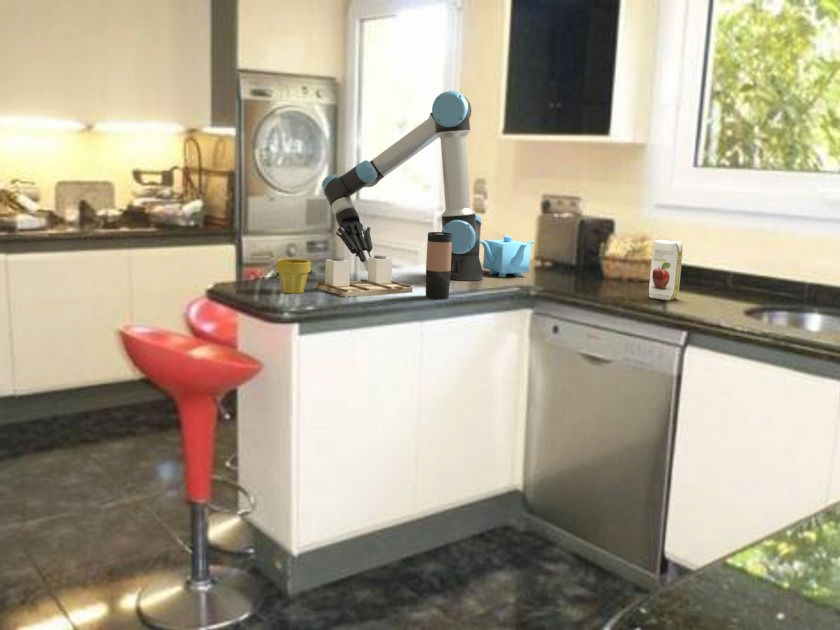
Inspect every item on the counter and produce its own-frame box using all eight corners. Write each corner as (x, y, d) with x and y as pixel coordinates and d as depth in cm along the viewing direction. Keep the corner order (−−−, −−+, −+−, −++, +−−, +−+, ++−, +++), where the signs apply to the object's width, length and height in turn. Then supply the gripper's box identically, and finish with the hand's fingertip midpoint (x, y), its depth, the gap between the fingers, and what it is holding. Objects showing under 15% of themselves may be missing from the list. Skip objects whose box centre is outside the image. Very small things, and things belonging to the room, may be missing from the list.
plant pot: (317, 292, 260) (317, 260, 259) (294, 295, 252) (294, 263, 250) (292, 288, 266) (292, 257, 264) (269, 291, 258) (269, 260, 256)
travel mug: (450, 296, 263) (453, 232, 259) (448, 300, 256) (451, 234, 252) (425, 294, 264) (428, 231, 260) (423, 298, 256) (426, 233, 253)
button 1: (325, 284, 265) (325, 257, 264) (341, 283, 269) (342, 256, 267) (333, 286, 261) (333, 259, 260) (349, 285, 265) (350, 258, 263)
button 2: (367, 281, 275) (368, 255, 273) (382, 280, 278) (383, 255, 277) (375, 284, 271) (376, 257, 269) (391, 282, 274) (392, 256, 273)
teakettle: (488, 270, 327) (490, 232, 325) (535, 274, 321) (538, 236, 318) (475, 276, 310) (477, 236, 307) (524, 280, 304) (527, 240, 301)
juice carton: (655, 295, 282) (660, 239, 279) (680, 298, 277) (685, 241, 274) (646, 297, 277) (651, 240, 273) (670, 301, 271) (676, 243, 268)
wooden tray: (316, 288, 267) (316, 281, 267) (381, 283, 282) (381, 277, 281) (345, 297, 253) (345, 290, 252) (412, 292, 268) (412, 285, 267)
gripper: (357, 220, 294) (382, 274, 284) (325, 221, 287) (349, 276, 277) (366, 206, 289) (391, 260, 279) (333, 206, 282) (358, 262, 272)
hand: (370, 268), depth 278 cm, fingers closed
